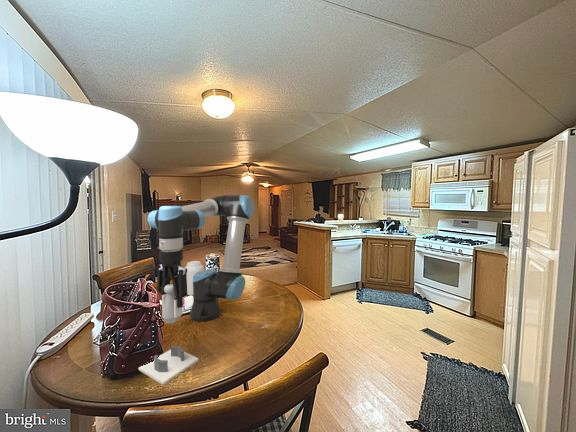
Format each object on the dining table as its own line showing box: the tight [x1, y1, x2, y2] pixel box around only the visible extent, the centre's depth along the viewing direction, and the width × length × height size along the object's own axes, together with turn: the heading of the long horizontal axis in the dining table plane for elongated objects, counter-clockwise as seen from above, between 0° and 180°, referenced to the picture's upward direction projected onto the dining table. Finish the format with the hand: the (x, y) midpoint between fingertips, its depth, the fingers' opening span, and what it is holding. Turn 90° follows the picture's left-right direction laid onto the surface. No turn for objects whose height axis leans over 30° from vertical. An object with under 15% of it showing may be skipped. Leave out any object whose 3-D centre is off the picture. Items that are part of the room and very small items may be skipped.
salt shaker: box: [161, 283, 180, 325], centre depth 85 cm, size 6×6×13 cm
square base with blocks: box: [137, 345, 199, 386], centre depth 86 cm, size 14×14×4 cm
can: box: [183, 260, 205, 296], centre depth 158 cm, size 12×12×20 cm
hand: (172, 313), depth 86 cm, fingers closed on salt shaker, 6 cm apart
